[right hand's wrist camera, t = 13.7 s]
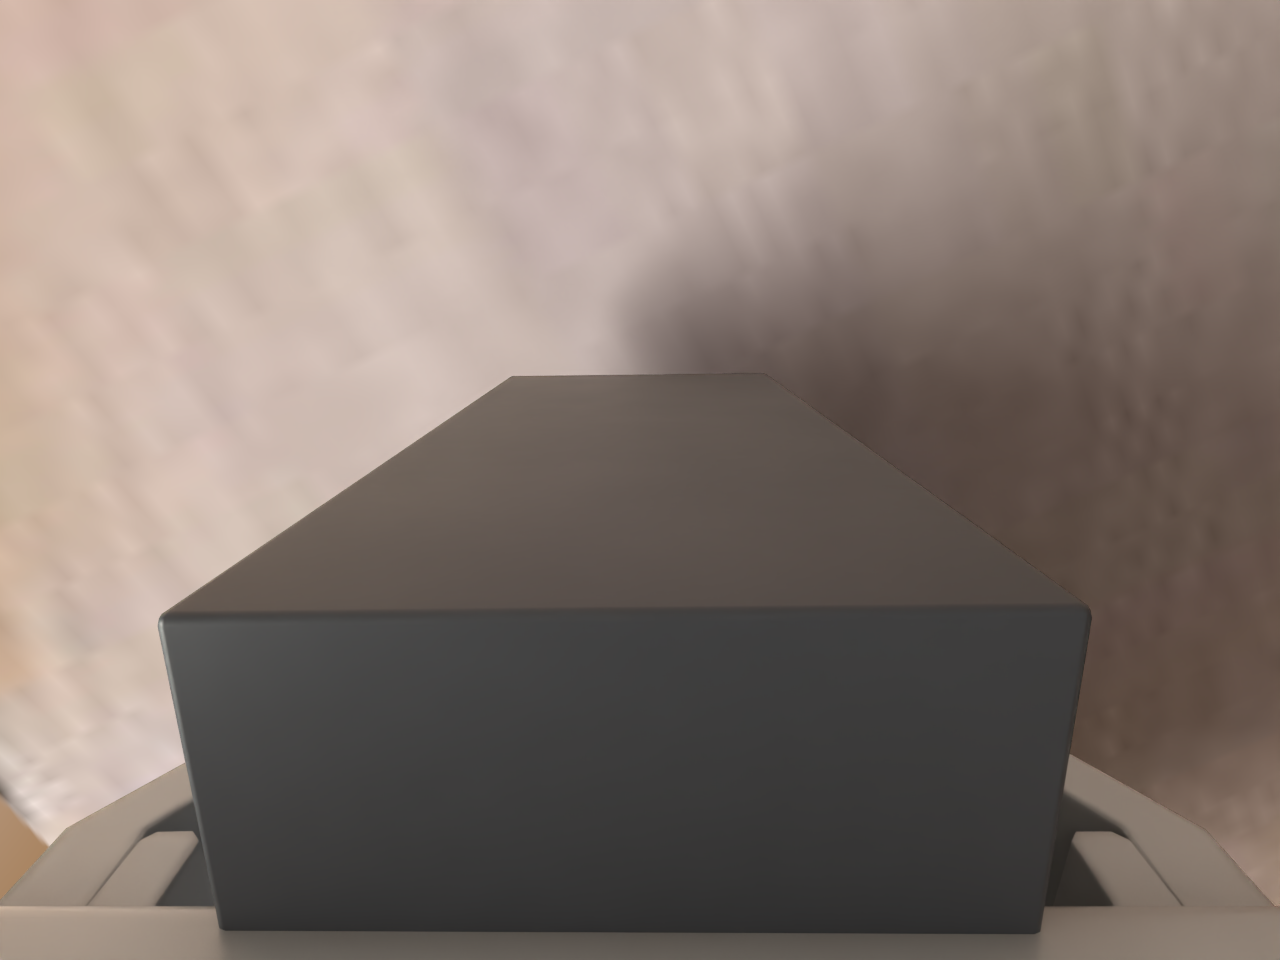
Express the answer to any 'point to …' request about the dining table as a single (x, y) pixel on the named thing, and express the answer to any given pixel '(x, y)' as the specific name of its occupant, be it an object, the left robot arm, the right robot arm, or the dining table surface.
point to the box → (630, 684)
